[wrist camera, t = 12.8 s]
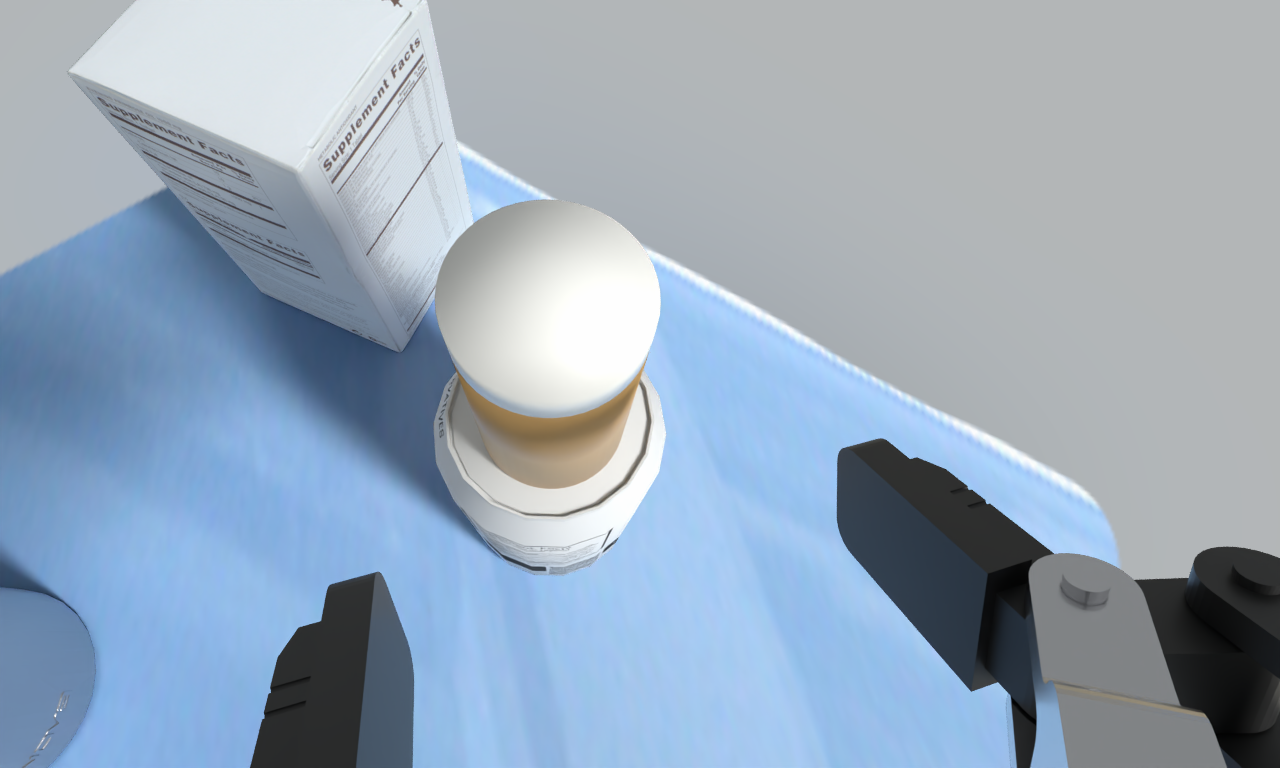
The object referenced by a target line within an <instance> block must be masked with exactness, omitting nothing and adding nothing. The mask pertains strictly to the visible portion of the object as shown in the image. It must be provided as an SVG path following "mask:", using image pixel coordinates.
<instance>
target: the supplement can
mask: <svg viewBox="0 0 1280 768" xmlns="http://www.w3.org/2000/svg"><path fill="white" fill-rule="evenodd" d="M433 426H434V441H435V456H436V464H437V466H438V468H439V470H440V472H441V475H442V477H443V479H444V481H445V483H446V485H447V487H448V489H449V491H450V494H451V496H452V498H453V500H454V501H455V502H456V504H457V505H458V506H459V508H460V509H461V510H462V512H463V513H464V514H465V516H466V517H467V518H468V519H469V521H470V522H471V523H472V525H473V526H474V527H475V529H476V530H477V531H478V533H479V534H480V535H481V537H482V538H483V539H484V541H485V542H486V543H487V544H488V546H489V547H490V548H492V549H493V550H494V551H495V552H496V553H497V554H498V555H499V556H500V557H501V558H502V559H503V560H504V561H505V562H506V563H507V564H509V565H511V566H514V567H516V568H518V569H521V570H523V571H526V572H528V573H531V574H533V575H553V576H564V575H567V574H569V573H572V572H575V571H578V570H581V569H584V568H587V567H590V566H591V565H592V564H593V563H595V562H596V561H597V560H598V559H600V558H601V557H602V556H603V555H605V554H606V553H607V552H608V551H609V550H611V549H612V547H613V546H614V544H615V543H616V541H617V539H618V538H619V536H620V535H621V533H622V531H623V530H624V528H625V527H626V525H627V524H628V522H629V520H630V519H631V517H632V516H633V514H634V512H635V511H636V509H637V508H638V506H639V504H640V503H641V501H642V499H643V498H644V496H645V494H646V493H647V491H648V489H649V488H650V486H651V484H652V483H653V481H654V479H655V478H656V476H657V474H658V473H659V470H660V464H661V459H662V453H663V448H664V442H665V437H666V431H665V425H664V419H663V414H662V408H661V403H660V397H659V395H658V393H657V392H656V390H655V388H654V386H653V385H652V383H651V381H650V380H649V378H648V376H647V374H646V373H645V371H644V369H643V372H642V375H641V378H640V381H639V385H638V388H637V391H636V394H635V397H634V400H633V403H632V406H631V410H630V413H629V416H628V419H627V422H626V425H625V428H624V431H623V435H622V438H621V441H620V443H619V446H618V448H617V450H616V452H615V454H614V455H613V457H612V458H611V460H610V461H609V462H608V464H607V465H606V466H605V467H604V468H603V469H602V470H601V471H599V472H598V473H597V474H595V475H594V476H593V477H591V478H589V479H588V480H586V481H584V482H581V483H579V484H577V485H573V486H570V487H566V488H559V489H544V488H537V487H533V486H529V485H526V484H524V483H521V482H519V481H517V480H515V479H513V478H512V477H510V476H509V475H507V474H506V473H505V472H503V471H502V470H501V469H500V468H499V467H498V466H497V465H496V463H495V462H494V461H493V459H492V458H491V457H490V455H489V453H488V451H487V450H486V447H485V445H484V442H483V440H482V437H481V434H480V432H479V429H478V427H477V424H476V421H475V419H474V416H473V414H472V411H471V408H470V406H469V403H468V401H467V398H466V395H465V393H464V390H463V388H462V385H461V382H460V380H459V377H458V375H457V372H455V374H454V375H453V376H452V378H451V379H450V380H449V381H448V383H447V384H446V385H445V388H444V391H443V394H442V397H441V401H440V404H439V407H438V410H437V413H436V417H435V420H434V423H433Z"/></svg>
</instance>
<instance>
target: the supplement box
mask: <svg viewBox="0 0 1280 768" xmlns="http://www.w3.org/2000/svg"><path fill="white" fill-rule="evenodd" d="M68 74H69V76H70V77H71V78H72V79H73V81H75V83H76V84H77V85H78V87H79V88H80V89H81V90H82V91H83V92H84V93H85V94H86V95H87V97H88V98H89V99H90V100H91V101H92V102H93V103H94V104H95V106H96V107H97V108H98V109H99V110H100V111H101V112H102V113H103V115H104V116H105V117H106V118H107V119H108V120H109V121H110V122H111V124H112V125H113V126H114V127H115V128H116V129H117V130H118V131H119V133H120V134H121V135H122V136H123V137H124V138H125V139H126V141H127V142H128V143H129V144H130V145H131V146H132V147H133V148H134V149H135V151H136V152H137V153H138V154H139V155H140V156H141V157H142V158H143V159H144V161H145V162H146V163H147V164H148V165H149V166H150V167H151V168H152V169H153V171H154V172H155V173H156V174H157V175H158V176H159V177H160V178H161V180H162V181H163V182H164V183H165V184H166V185H167V187H168V188H169V189H170V190H171V191H172V192H173V193H174V194H175V196H176V197H177V198H178V199H179V200H180V201H181V202H182V203H183V204H184V206H185V207H186V208H187V209H188V210H189V211H190V212H191V213H192V215H193V216H194V217H195V218H196V219H197V220H198V221H199V222H200V224H201V225H202V226H203V227H204V228H205V229H206V230H207V232H208V233H209V234H210V235H211V236H212V237H213V238H214V239H215V240H216V241H217V243H218V244H219V245H220V246H221V247H222V248H223V249H224V250H225V251H226V253H227V254H228V255H229V256H230V257H231V258H232V259H233V260H234V262H235V263H236V264H237V265H238V266H239V267H240V268H241V269H242V271H243V272H244V273H245V274H246V275H247V276H248V277H249V279H250V280H251V281H252V282H253V283H254V284H255V285H256V286H257V288H258V289H259V290H260V291H261V292H262V293H264V294H266V295H269V296H271V297H273V298H275V299H277V300H280V301H282V302H284V303H286V304H289V305H291V306H293V307H295V308H298V309H300V310H302V311H304V312H307V313H309V314H311V315H314V316H316V317H318V318H320V319H323V320H325V321H327V322H330V323H332V324H334V325H336V326H339V327H341V328H343V329H346V330H348V331H350V332H352V333H355V334H357V335H359V336H361V337H364V338H366V339H368V340H371V341H373V342H375V343H378V344H380V345H382V346H385V347H387V348H389V349H391V350H394V351H396V352H402V351H403V350H404V348H405V346H406V345H407V343H408V342H409V340H410V339H411V337H412V335H413V334H414V332H415V330H416V329H417V327H418V325H419V324H420V322H421V320H422V319H423V317H424V315H425V314H426V312H427V310H428V309H429V307H430V305H431V303H432V302H433V300H434V298H435V288H436V282H437V278H438V273H439V271H440V268H441V265H442V263H443V260H444V258H445V257H446V255H447V253H448V251H449V249H450V248H451V247H452V245H453V244H454V243H455V241H456V240H457V239H458V238H459V237H460V236H461V235H462V234H463V233H464V232H465V231H466V229H467V228H469V227H470V226H471V225H473V224H474V221H473V216H472V211H471V207H470V202H469V197H468V193H467V188H466V183H465V179H464V174H463V170H462V164H461V160H460V156H459V151H458V146H457V141H456V136H455V132H454V128H453V123H452V118H451V113H450V108H449V103H448V98H447V94H446V89H445V84H444V79H443V75H442V70H441V65H440V61H439V56H438V51H437V47H436V42H435V37H434V32H433V28H432V23H431V18H430V14H429V9H428V4H427V1H426V0H135V1H134V2H133V3H132V4H131V5H130V6H129V7H128V8H127V9H126V10H125V12H124V13H123V14H122V15H121V16H120V17H119V18H118V19H117V20H116V21H115V22H114V23H113V24H112V25H111V26H110V27H109V28H108V29H107V30H106V31H105V33H104V34H103V35H102V36H101V37H100V38H99V39H98V40H97V41H96V42H95V43H94V44H93V45H92V46H91V47H90V48H89V49H88V50H87V51H86V52H85V53H84V54H83V55H82V56H81V58H80V59H79V60H78V61H77V62H76V63H75V64H74V65H73V66H72V67H71V68H70V69H69V70H68Z"/></svg>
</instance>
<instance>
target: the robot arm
mask: <svg viewBox="0 0 1280 768" xmlns="http://www.w3.org/2000/svg"><path fill="white" fill-rule="evenodd" d="M837 523H838V528H839V531H840V534H841V537H842V539H843V542H844V544H845V545H846V547H847V549H848V550H849V551H850V553H851V554H852V555H853V556H854V557H855V558H856V560H857V561H858V562H859V563H860V564H861V565H862V567H863V568H864V569H865V570H866V571H867V572H868V573H869V575H870V576H871V577H872V578H873V579H874V580H875V581H876V583H877V584H878V585H879V586H880V587H881V588H882V590H883V591H884V592H885V593H886V594H887V595H888V596H889V598H890V599H891V600H892V601H893V602H894V603H895V604H896V606H897V607H898V608H899V609H900V610H901V611H902V613H903V614H904V615H905V616H906V617H907V618H908V619H909V621H910V622H911V623H912V624H913V625H914V626H915V627H916V629H917V630H918V631H919V632H920V633H921V634H922V636H923V637H924V638H925V639H926V640H927V641H928V642H929V644H930V645H931V646H932V647H933V648H934V649H935V650H936V652H937V653H938V654H939V655H940V656H941V657H942V659H943V660H944V661H945V662H946V663H947V664H948V665H949V667H950V668H951V669H952V670H953V671H954V672H955V673H956V675H957V676H958V677H959V678H960V679H961V680H962V682H963V683H964V684H965V685H966V686H967V687H968V688H969V690H970V691H971V692H972V691H974V690H977V689H980V688H983V687H986V686H988V685H991V684H994V683H997V682H998V683H999V684H1000V685H1001V686H1002V687H1003V688H1004V689H1005V690H1006V691H1007V692H1008V695H1007V701H1006V717H1007V730H1008V742H1009V755H1010V767H1011V768H1280V558H1278V557H1275V556H1272V555H1270V554H1266V553H1263V552H1260V551H1256V550H1251V549H1246V548H1239V547H1216V548H1210V549H1207V550H1205V551H1202V552H1201V553H1200V554H1198V555H1197V557H1196V558H1195V560H1194V563H1193V566H1192V569H1191V572H1190V576H1189V578H1178V579H1177V578H1174V579H1149V580H1148V579H1147V580H1133V579H1132V578H1131V577H1130V576H1129V575H1127V574H1126V573H1124V571H1122V570H1120V569H1119V568H1117V567H1115V566H1113V565H1111V564H1109V563H1107V562H1105V561H1102V560H1099V559H1097V558H1093V557H1089V556H1085V555H1080V554H1070V553H1059V554H1054V553H1053V552H1051V551H1050V550H1049V549H1047V548H1046V547H1045V546H1044V545H1042V544H1041V543H1040V542H1038V541H1037V540H1036V539H1035V538H1033V537H1032V536H1031V535H1029V534H1028V533H1027V532H1026V531H1024V530H1023V529H1022V528H1020V527H1019V526H1018V525H1017V524H1015V523H1014V522H1013V521H1011V520H1010V519H1009V518H1008V517H1006V516H1005V515H1004V514H1003V513H1001V512H1000V511H999V510H997V509H996V508H995V507H994V506H992V505H991V504H986V502H985V499H983V498H982V497H981V496H979V495H978V494H977V493H976V492H974V491H973V490H968V487H967V485H965V484H964V483H963V482H961V481H960V480H959V479H958V478H956V477H955V476H954V475H952V474H951V473H950V472H949V471H947V470H946V469H944V468H941V467H939V466H937V465H934V464H932V463H929V462H927V461H924V460H922V459H919V458H917V457H916V458H913V459H909V458H908V457H907V456H905V455H904V454H903V453H902V452H901V451H899V450H898V449H897V448H896V447H894V446H893V445H892V444H891V443H889V442H888V441H887V440H885V439H881V438H880V439H876V440H872V441H868V442H864V443H861V444H857V445H853V446H850V447H846V448H843V449H841V450H840V452H839V454H838V461H837ZM95 674H96V667H95V653H94V648H93V645H92V642H91V639H90V636H89V633H88V631H87V629H86V627H85V626H84V624H83V623H82V621H81V620H80V618H79V617H78V615H77V614H75V613H74V612H73V611H72V610H71V609H70V608H69V607H67V606H66V605H65V604H64V603H63V602H61V601H59V600H57V599H55V598H53V597H51V596H49V595H46V594H44V593H39V592H34V591H30V590H25V589H15V588H3V587H0V768H48V767H49V766H50V765H51V764H52V763H53V762H54V761H55V760H56V759H57V757H58V756H59V755H60V754H61V753H62V751H63V750H64V749H65V748H66V746H67V745H68V744H69V743H70V741H71V740H72V738H73V737H74V735H75V733H76V731H77V730H78V728H79V726H80V724H81V723H82V721H83V719H84V717H85V714H86V711H87V709H88V706H89V703H90V700H91V697H92V695H93V688H94V681H95ZM270 689H271V693H269V694H268V698H267V702H266V706H265V710H264V715H265V719H262V722H261V726H260V730H259V734H258V738H257V742H256V746H255V750H254V754H253V758H252V762H251V766H250V768H412V762H413V710H414V672H413V664H412V658H411V653H410V648H409V645H408V641H407V639H406V636H405V633H404V630H403V628H402V625H401V622H400V620H399V617H398V614H397V612H396V609H395V606H394V604H393V601H392V598H391V595H390V593H389V590H388V587H387V585H386V582H385V580H384V578H383V576H382V574H381V573H380V572H375V573H372V574H368V575H364V576H360V577H357V578H353V579H349V580H346V581H342V582H338V583H334V584H331V585H329V587H328V589H327V593H326V598H325V604H324V609H323V614H322V620H321V622H317V623H313V624H310V625H306V626H303V627H299V628H298V629H297V631H296V632H295V634H294V635H293V636H292V638H291V639H290V641H289V642H288V643H287V645H286V646H285V648H284V649H283V651H282V652H281V653H280V655H279V656H278V658H277V662H276V666H275V670H274V674H273V678H272V682H271V686H270Z"/></svg>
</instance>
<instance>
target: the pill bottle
mask: <svg viewBox="0 0 1280 768" xmlns="http://www.w3.org/2000/svg"><path fill="white" fill-rule="evenodd" d="M660 304H661V301H660V288H659V283H658V278H657V275H656V272H655V269H654V266H653V264H652V262H651V260H650V258H649V256H648V254H647V253H646V251H645V250H644V248H643V247H642V245H641V244H640V243H639V242H638V240H637V239H636V238H635V237H634V236H633V235H632V234H631V233H630V232H629V231H628V230H627V229H626V228H624V227H623V226H622V225H621V224H620V223H618V222H617V221H615V220H614V219H612V218H611V217H609V216H607V215H605V214H603V213H601V212H600V211H597V210H595V209H592V208H590V207H587V206H584V205H581V204H577V203H573V202H567V201H560V200H532V201H526V202H520V203H515V204H512V205H509V206H506V207H503V208H500V209H498V210H496V211H494V212H491V213H489V214H488V215H486V216H484V217H483V218H481V219H479V220H478V221H476V222H475V223H474V224H473V225H471V226H470V227H469V228H467V229H466V231H465V232H464V233H463V234H462V235H461V236H460V237H459V238H458V239H457V240H456V241H455V243H454V244H453V245H452V247H451V248H450V249H449V251H448V253H447V255H446V257H445V258H444V260H443V263H442V265H441V268H440V271H439V273H438V278H437V282H436V288H435V309H436V316H437V320H438V325H439V328H440V330H441V333H442V335H443V338H444V341H445V343H446V346H447V349H448V351H449V354H450V356H451V359H452V362H453V364H454V367H455V369H456V372H457V375H458V377H459V380H460V382H461V385H462V388H463V390H464V393H465V395H466V398H467V401H468V403H469V406H470V408H471V411H472V414H473V416H474V419H475V421H476V424H477V427H478V429H479V432H480V434H481V437H482V440H483V442H484V445H485V447H486V450H487V451H488V453H489V455H490V457H491V458H492V459H493V461H494V462H495V463H496V465H497V466H498V467H499V468H500V469H501V470H502V471H503V472H505V473H506V474H507V475H509V476H510V477H512V478H513V479H515V480H517V481H519V482H521V483H524V484H526V485H529V486H533V487H537V488H544V489H559V488H566V487H570V486H573V485H577V484H579V483H581V482H584V481H586V480H588V479H589V478H591V477H593V476H594V475H595V474H597V473H598V472H599V471H601V470H602V469H603V468H604V467H605V466H606V465H607V464H608V462H609V461H610V460H611V458H612V457H613V455H614V454H615V452H616V450H617V448H618V446H619V443H620V441H621V438H622V435H623V431H624V428H625V425H626V422H627V419H628V416H629V413H630V410H631V406H632V403H633V400H634V397H635V394H636V391H637V388H638V385H639V381H640V378H641V375H642V372H643V369H644V366H645V363H646V360H647V356H648V353H649V350H650V347H651V344H652V341H653V338H654V334H655V331H656V328H657V324H658V320H659V315H660Z"/></svg>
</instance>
